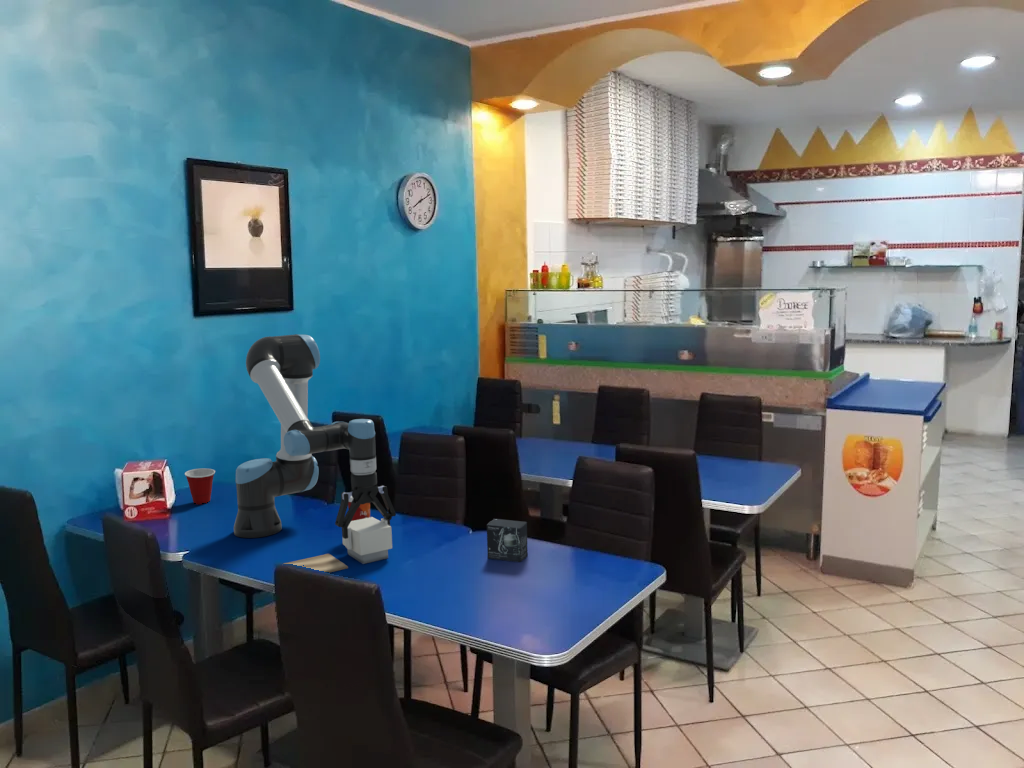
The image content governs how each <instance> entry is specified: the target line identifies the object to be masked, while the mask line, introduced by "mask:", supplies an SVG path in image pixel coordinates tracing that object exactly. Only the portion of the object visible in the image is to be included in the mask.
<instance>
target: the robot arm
mask: <svg viewBox="0 0 1024 768" xmlns="http://www.w3.org/2000/svg"><path fill="white" fill-rule="evenodd" d="M319 349H320V348H319V347H318V344H317V341H315V339H314V338H313V337H312V336H311V335H308V334H298V333H297V334H287V335H285V334H284V335H275V336H274V335H273V336H271V335H270V336H264V337H261V338H259V339H258V340H256V341H254V343H253V344H252V345H251V346H250V348H249V349H248V351H247V354H246V357H245V358H246V359H245V368H246V371H247V374H248V375H249V378H250V380H251V381H252V382H253V383H255V384H258V386H259V388H260V390H261V392H262V393H263V395H264V397H265V399H266V400H267V402H268V404H269V406H270V408H272V410H273V412H274V414H275V415H276V418H277V420H278V422H279V423H280V449H279V451H277V452H276V455H275V461H273V460H272V459H271V458H267V457H266V458H265V457H262V458H256V459H251V460H248V461H245V462H243V463H241V464H240V465H238V466H237V468H236V469H235V481H234V482H235V485H236V486H235V488H236V499H237V514H236V517H235V521H234V525H233V534H234V536H235V537H237V538H244V539H255V538H265V537H268V536H272V535H275V534H277V533H280V532H281V530H282V526H283V525H282V520H281V518H280V516H279V513H278V510H277V508H276V504H275V503H276V502H275V498H277V497H281V496H286V495H293V494H296V493H303V492H305V491H309V490H312V489H313V488H314V487H315V485H316V484H317V482H318V479H319V466H318V461H317V459H316V458H315V456H313V455H312V454H316V453H323V452H330V451H336V450H342V449H346V450H349V465H350V469H349V470H350V472H351V474H350V484H351V485H350V487H351V490H350V491H349V492H345V491H343V492H341V495H340V496H341V500H340V505H339V508H338V512H337V514H336V515H337V516H336V519H335V523H334V525H335V526H337V527H339V528H341V537H343V538H344V539H345V544H346V546H345V548H346V549H349V550H351V549H352V543H351V528H350V527H349V524H350V522H351V520H352V518H353V516H354V514H355V512H356V510H357V509H358V507H359V506H360V505H361V504H365V503H370V504H371V503H372V504H373V506H375V508H376V509H377V510H378V511H379V513H380V514H381V516H382V517H383V518H380V521H381V522H383V523H385V524H387V525H389V526H391V520H392V518H393V517H396V515H397V514H396V511H395V508H394V506H393V504H392V501H391V498H390V495H389V493H388V487H387V486H385V485H383V484H381V485H380V486H378V475H377V473H378V472H376V470H377V455H376V453H377V452H376V431H375V423H374V421H373V420H372V419H368V418H356V419H352V420H349V422H346V421H334V422H332V423H331V424H328V425H323V426H322V425H321V426H313V424H312V423H311V422H310V420H309V418H308V413H309V412H308V409H309V407H308V403H309V401H308V399H309V393H308V390H309V386H308V385H309V380H310V379H311V378H312V377H313V376H314V374H313V371H314V370H317V369H318V368H319V365H320V363H321V354H320V350H319ZM378 493H379V494H380V496H381V498H382V501H383V503H384V505H385V507H384V506H383V505H382V503H381V501H380V500H379V499H378V497H377V494H378ZM351 496H352V497H353V500H352V502H351V506H350V508H348V502H349V500H350V497H351ZM356 502H357V503H356ZM385 508H386V509H385Z"/></svg>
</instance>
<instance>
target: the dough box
mask: <svg viewBox="0 0 1024 768" xmlns="http://www.w3.org/2000/svg"><path fill="white" fill-rule="evenodd" d="M346 549H347V548H346ZM347 555H348V556H350V557H351V558H353V559H355V560H356V561H358V562H359V563H361V564H362V565H364V564H369V563H373V562H378V561H381V560H386V559H389V549H388V550H383V551H379V552H374V553H370V554H366V555H359V554H358V553H356V552H354V551H353V550H349V549H347Z"/></svg>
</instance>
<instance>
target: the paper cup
mask: <svg viewBox="0 0 1024 768" xmlns="http://www.w3.org/2000/svg"><path fill="white" fill-rule="evenodd" d="M352 500H353V497H352V496H351V497H350V500H349V502H348V506H347V509H349V508H350V506H351V502H352ZM356 503H357V502H356ZM369 517H371V503H365V504H361V505H360V506H359V507H358V509H357V510H356V512H355V514H354V516H353V518H352V520H351V521H354V520H359V519H364V518H369Z"/></svg>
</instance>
